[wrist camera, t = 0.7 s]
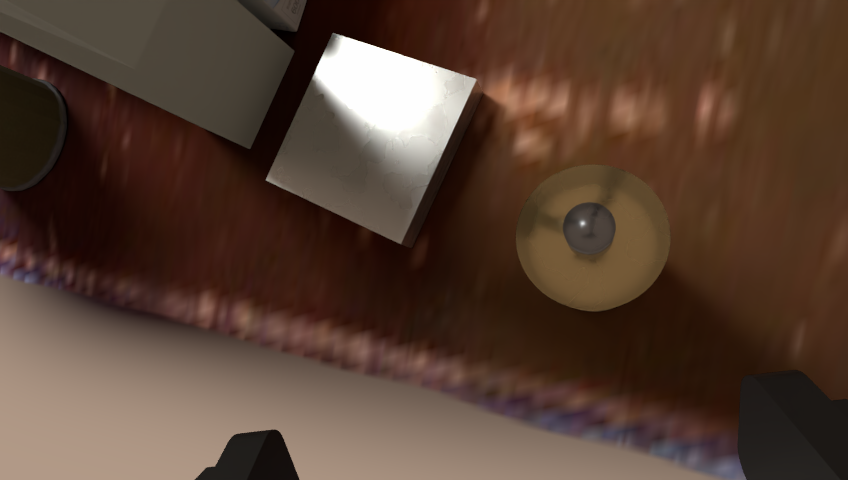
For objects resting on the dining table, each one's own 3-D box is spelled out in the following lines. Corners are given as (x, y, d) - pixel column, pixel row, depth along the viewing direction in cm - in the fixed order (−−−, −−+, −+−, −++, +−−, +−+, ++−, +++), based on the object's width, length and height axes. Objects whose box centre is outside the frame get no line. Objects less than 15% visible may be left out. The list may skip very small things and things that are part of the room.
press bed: (346, 47, 37) (332, 32, 35) (483, 92, 33) (476, 79, 31) (282, 187, 37) (265, 180, 35) (411, 248, 33) (400, 244, 31)
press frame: (245, 34, 40) (-259, -370, 16) (473, 114, 33) (169, -384, 9) (202, 127, 40) (-361, -140, 16) (421, 227, 33) (-9, 11, 10)
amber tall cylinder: (568, 208, 30) (546, 126, 17) (656, 243, 28) (709, 181, 15) (531, 288, 30) (481, 267, 17) (617, 327, 29) (635, 339, 15)
